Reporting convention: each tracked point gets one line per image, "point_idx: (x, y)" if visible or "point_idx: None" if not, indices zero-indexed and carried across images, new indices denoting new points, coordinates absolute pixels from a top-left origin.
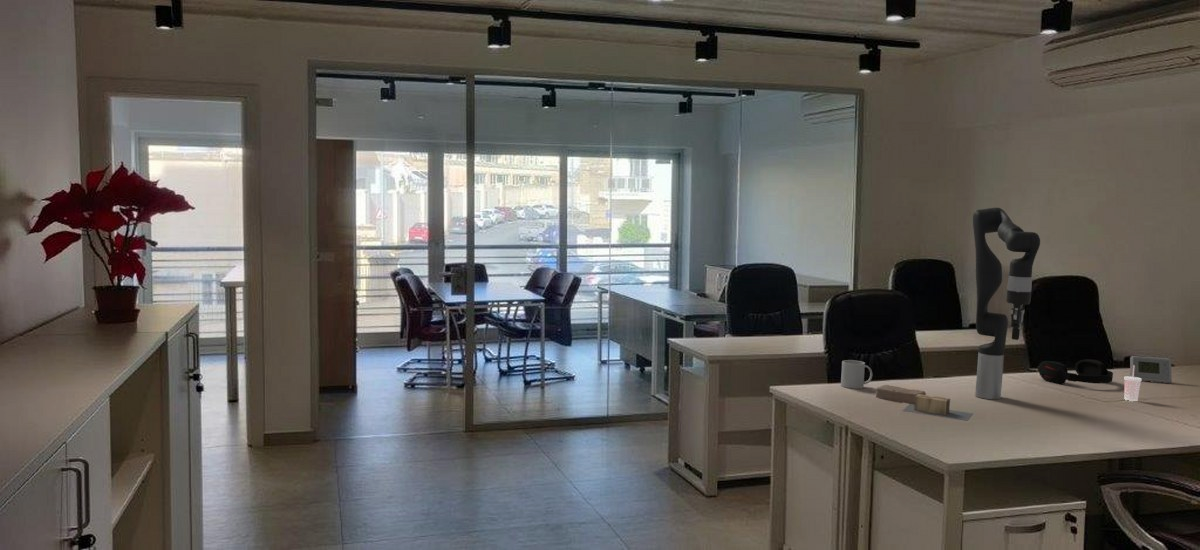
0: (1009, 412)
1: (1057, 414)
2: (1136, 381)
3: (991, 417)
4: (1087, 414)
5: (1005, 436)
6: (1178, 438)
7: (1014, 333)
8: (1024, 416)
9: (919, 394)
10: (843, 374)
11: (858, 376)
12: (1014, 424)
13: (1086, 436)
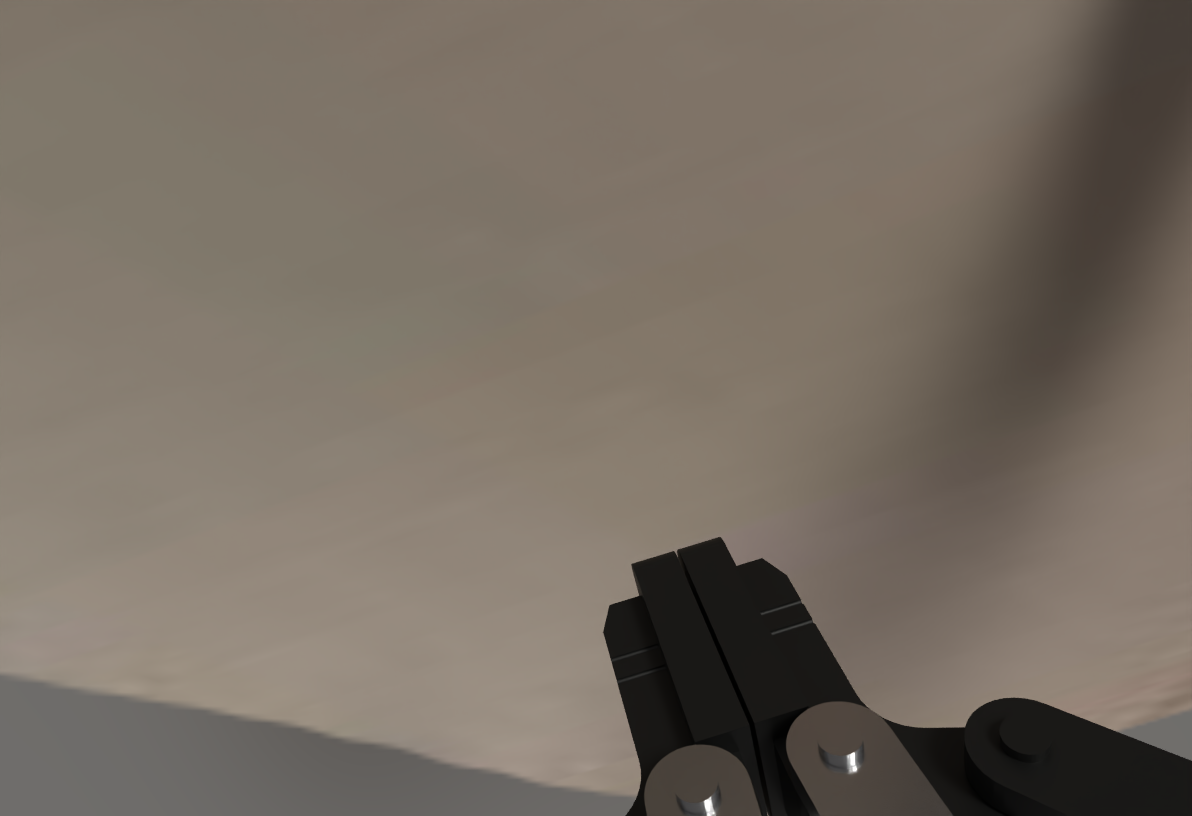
0: (825, 40)
1: (999, 292)
2: None
3: (522, 10)
4: (1116, 398)
5: (16, 341)
6: None
7: (626, 709)
8: (772, 174)
9: None
10: None
11: None
12: (449, 231)
13: (533, 594)
